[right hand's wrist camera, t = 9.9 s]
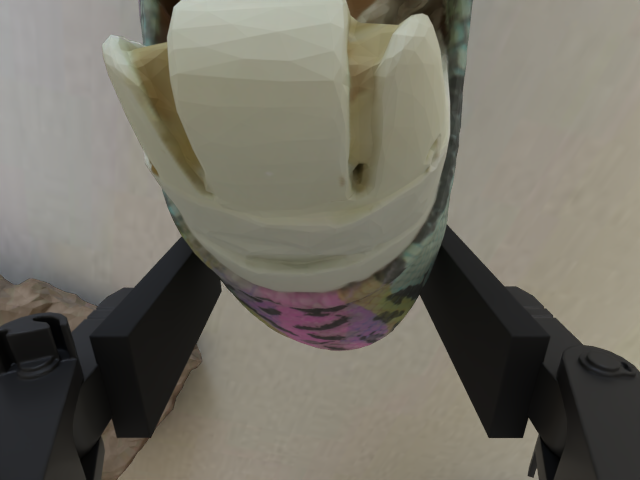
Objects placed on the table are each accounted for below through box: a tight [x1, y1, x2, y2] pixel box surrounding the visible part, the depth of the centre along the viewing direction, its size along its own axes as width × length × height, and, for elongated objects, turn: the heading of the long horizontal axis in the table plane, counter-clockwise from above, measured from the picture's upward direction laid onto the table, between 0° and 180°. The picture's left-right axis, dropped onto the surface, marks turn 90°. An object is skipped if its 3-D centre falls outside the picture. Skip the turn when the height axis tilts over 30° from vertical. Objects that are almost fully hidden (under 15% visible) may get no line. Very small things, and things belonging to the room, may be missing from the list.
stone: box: [0, 275, 202, 480], centre depth 25 cm, size 21×15×6 cm
